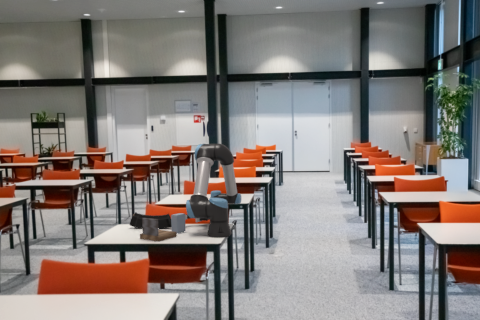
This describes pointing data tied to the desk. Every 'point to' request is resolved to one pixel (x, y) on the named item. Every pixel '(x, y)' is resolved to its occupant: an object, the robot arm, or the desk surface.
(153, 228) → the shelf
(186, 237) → the desk surface
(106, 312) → the desk surface
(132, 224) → the magazine
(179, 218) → the slate gray rectangular prism
